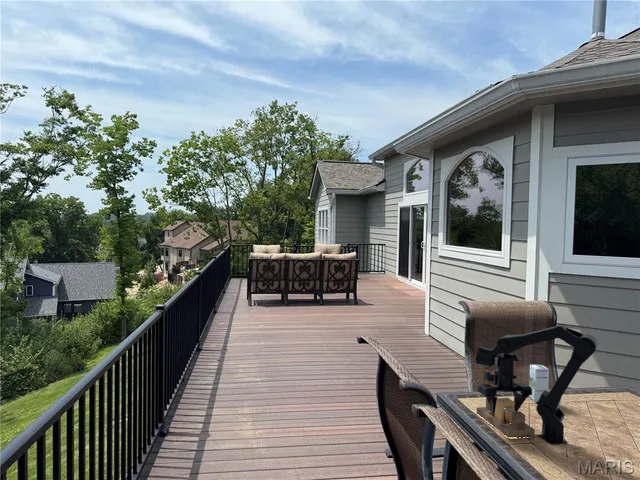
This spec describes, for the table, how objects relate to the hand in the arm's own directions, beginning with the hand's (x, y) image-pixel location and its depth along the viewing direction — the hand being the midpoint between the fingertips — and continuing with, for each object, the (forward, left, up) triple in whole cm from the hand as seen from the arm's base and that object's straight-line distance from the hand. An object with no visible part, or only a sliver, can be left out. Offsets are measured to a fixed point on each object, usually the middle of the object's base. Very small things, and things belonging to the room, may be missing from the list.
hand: (504, 412), depth 158 cm
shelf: (0, 0, -5) cm, 5 cm away
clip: (0, 0, -3) cm, 3 cm away
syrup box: (+21, -31, -5) cm, 37 cm away
